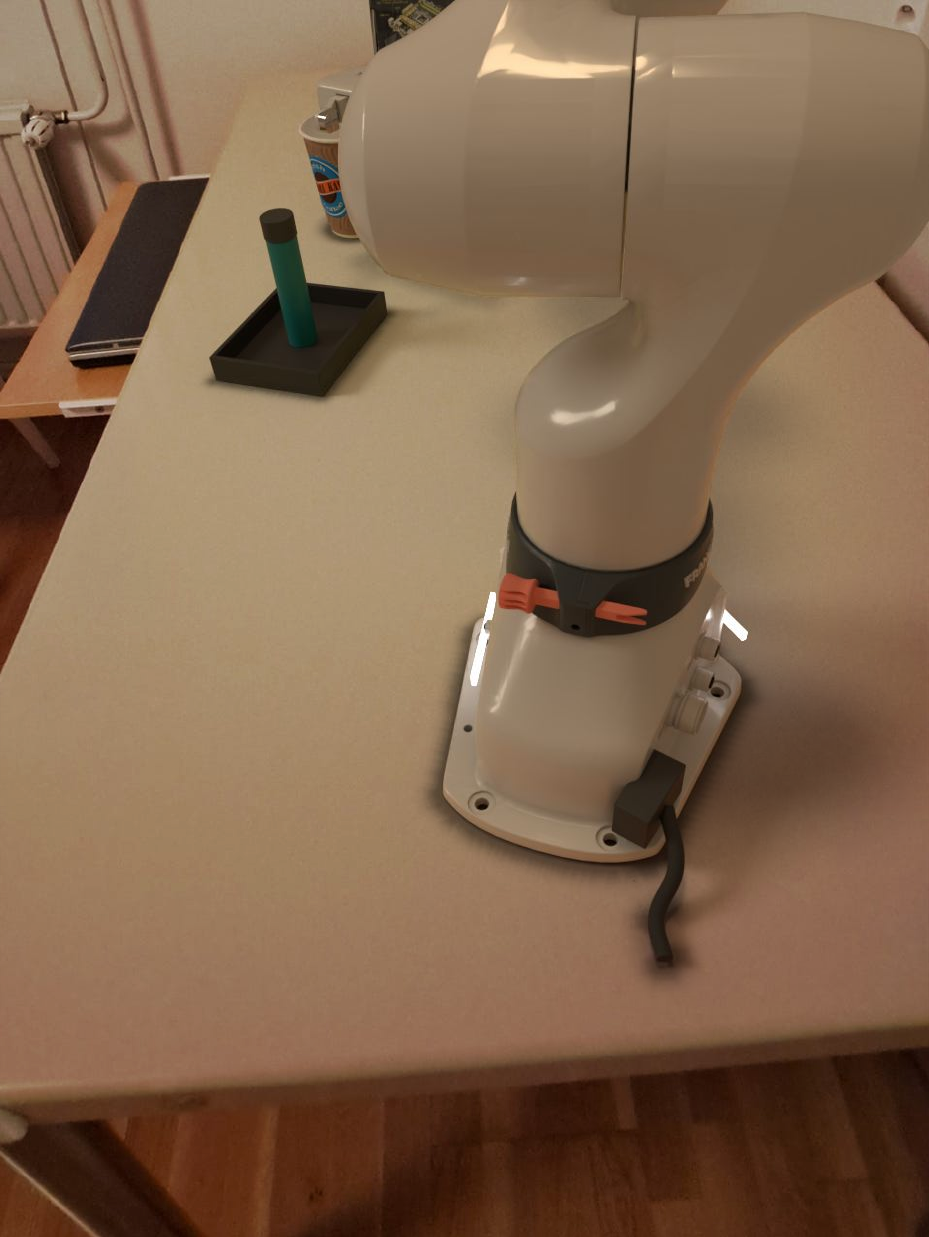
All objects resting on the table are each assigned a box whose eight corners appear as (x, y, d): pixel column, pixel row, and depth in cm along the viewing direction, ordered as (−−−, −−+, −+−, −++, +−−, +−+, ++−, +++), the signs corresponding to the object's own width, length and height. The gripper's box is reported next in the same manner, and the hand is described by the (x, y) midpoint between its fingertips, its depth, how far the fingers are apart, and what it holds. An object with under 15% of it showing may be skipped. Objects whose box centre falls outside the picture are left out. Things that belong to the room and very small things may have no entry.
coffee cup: (301, 230, 116) (280, 127, 107) (363, 200, 121) (348, 100, 112) (354, 253, 111) (337, 147, 102) (418, 221, 115) (406, 117, 107)
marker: (310, 350, 95) (283, 224, 86) (282, 346, 96) (252, 221, 87) (324, 334, 97) (299, 209, 88) (296, 330, 98) (269, 206, 89)
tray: (322, 396, 91) (317, 373, 89) (215, 380, 94) (208, 357, 92) (387, 313, 101) (384, 291, 99) (288, 301, 104) (283, 279, 102)
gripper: (365, 40, 98) (272, 80, 91) (526, 64, 89) (437, 111, 82) (373, 105, 103) (285, 148, 96) (527, 134, 94) (443, 185, 86)
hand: (356, 132), depth 89 cm, fingers open, 8 cm apart
